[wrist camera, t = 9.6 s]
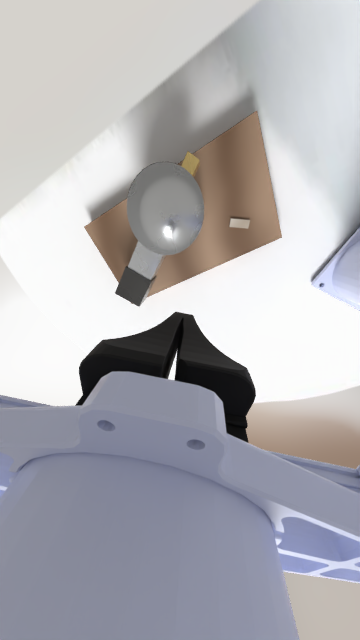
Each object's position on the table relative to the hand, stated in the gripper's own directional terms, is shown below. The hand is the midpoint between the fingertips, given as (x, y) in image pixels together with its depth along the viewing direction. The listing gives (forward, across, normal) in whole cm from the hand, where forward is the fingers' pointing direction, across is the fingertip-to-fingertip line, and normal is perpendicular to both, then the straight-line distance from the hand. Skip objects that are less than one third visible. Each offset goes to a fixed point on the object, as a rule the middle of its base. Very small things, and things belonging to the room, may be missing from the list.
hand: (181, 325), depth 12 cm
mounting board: (+10, +2, -6) cm, 12 cm away
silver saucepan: (+8, +4, -5) cm, 10 cm away
